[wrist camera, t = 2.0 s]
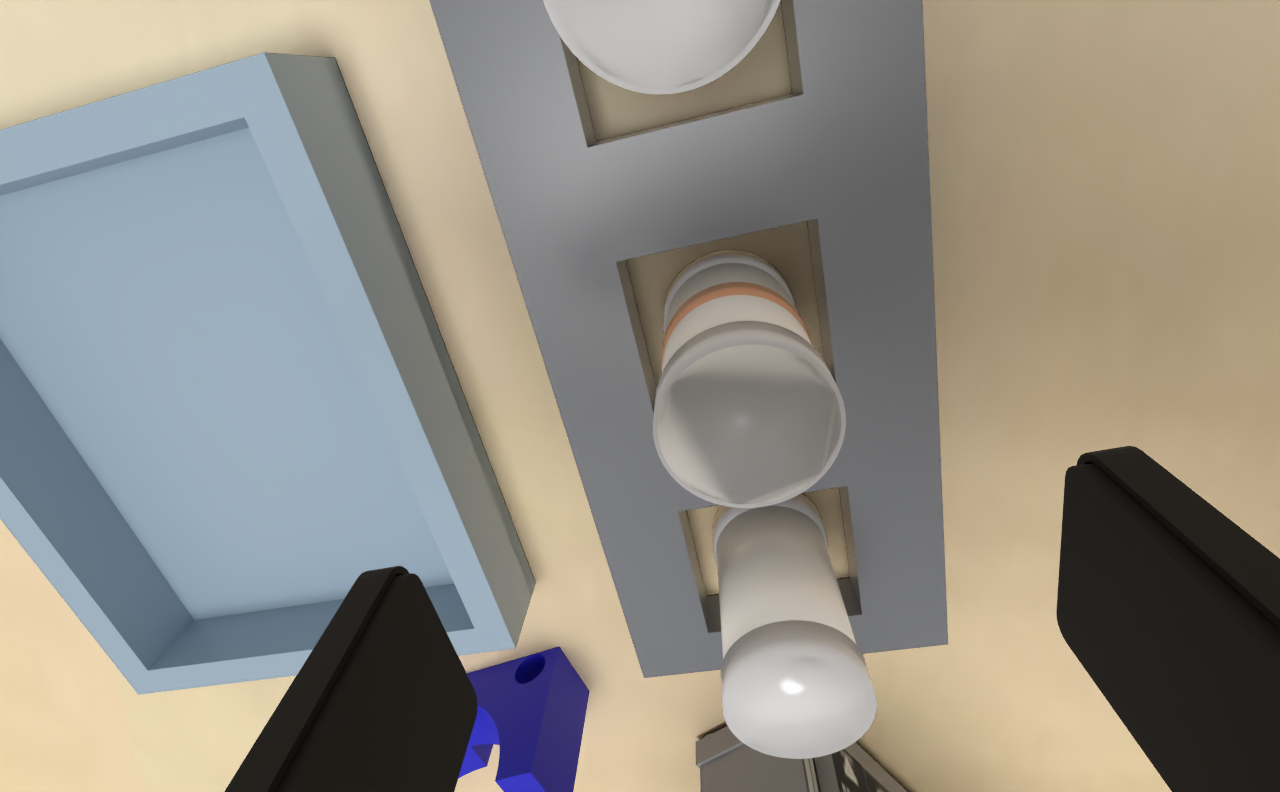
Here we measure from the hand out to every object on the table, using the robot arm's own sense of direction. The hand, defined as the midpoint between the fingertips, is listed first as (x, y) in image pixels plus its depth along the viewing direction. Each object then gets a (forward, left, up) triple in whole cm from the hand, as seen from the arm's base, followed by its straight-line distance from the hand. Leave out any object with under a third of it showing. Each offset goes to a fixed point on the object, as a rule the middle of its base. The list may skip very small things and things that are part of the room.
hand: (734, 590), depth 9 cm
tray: (+17, 0, -13) cm, 22 cm away
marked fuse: (-1, 0, -13) cm, 13 cm away
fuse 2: (-1, +9, -13) cm, 16 cm away
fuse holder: (-1, 0, -13) cm, 13 cm away
